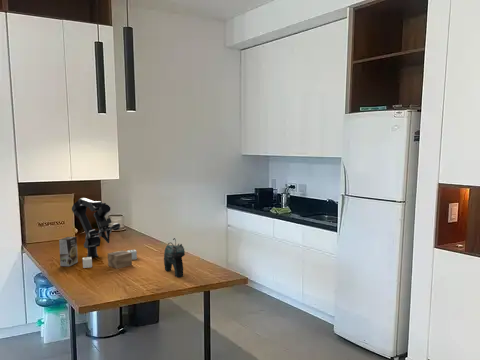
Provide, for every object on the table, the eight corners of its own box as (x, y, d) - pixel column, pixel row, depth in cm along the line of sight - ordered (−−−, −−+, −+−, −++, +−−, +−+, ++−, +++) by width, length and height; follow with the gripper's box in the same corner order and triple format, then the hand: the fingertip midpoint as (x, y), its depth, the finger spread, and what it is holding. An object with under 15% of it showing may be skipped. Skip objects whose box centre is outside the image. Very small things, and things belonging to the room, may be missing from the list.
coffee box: (69, 266, 261) (68, 239, 260) (60, 266, 263) (58, 239, 261) (78, 262, 270) (77, 236, 269) (68, 262, 272) (67, 236, 270)
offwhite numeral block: (82, 266, 262) (82, 257, 262) (91, 265, 264) (91, 256, 264) (83, 268, 258) (82, 259, 257) (92, 267, 259) (91, 258, 259)
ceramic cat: (186, 277, 235) (185, 240, 234) (175, 279, 232) (174, 241, 230) (171, 268, 252) (170, 234, 251) (160, 270, 249) (159, 235, 247)
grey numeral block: (127, 258, 278) (127, 250, 278) (135, 257, 280) (135, 249, 280) (128, 260, 274) (128, 251, 273) (136, 259, 276) (136, 251, 275)
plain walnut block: (108, 265, 262) (107, 253, 261) (122, 262, 269) (122, 250, 268) (117, 268, 255) (116, 256, 254) (132, 265, 262) (131, 252, 261)
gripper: (85, 219, 262) (93, 243, 257) (116, 210, 270) (124, 233, 265) (85, 226, 271) (93, 249, 266) (115, 217, 279) (123, 239, 274)
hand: (108, 242), depth 268 cm, fingers closed
